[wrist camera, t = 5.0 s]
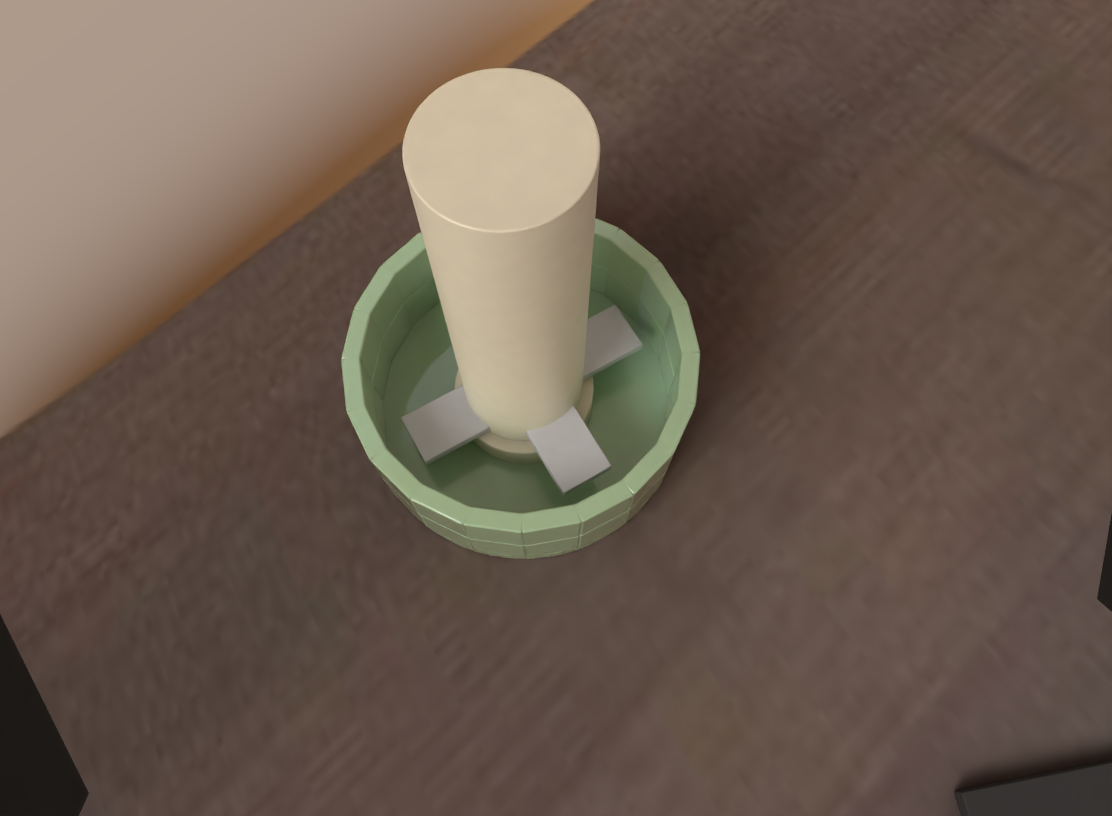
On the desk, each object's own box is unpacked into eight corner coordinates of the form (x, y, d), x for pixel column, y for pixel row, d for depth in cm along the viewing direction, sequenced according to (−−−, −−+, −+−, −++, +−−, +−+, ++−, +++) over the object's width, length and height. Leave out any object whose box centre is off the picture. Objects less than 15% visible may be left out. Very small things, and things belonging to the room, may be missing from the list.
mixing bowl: (644, 249, 34) (656, 180, 29) (712, 528, 30) (738, 495, 26) (357, 294, 33) (327, 230, 29) (389, 585, 29) (360, 561, 25)
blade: (567, 258, 33) (574, -67, 19) (688, 439, 30) (793, 211, 17) (367, 360, 31) (226, 85, 18) (477, 560, 29) (408, 413, 15)
